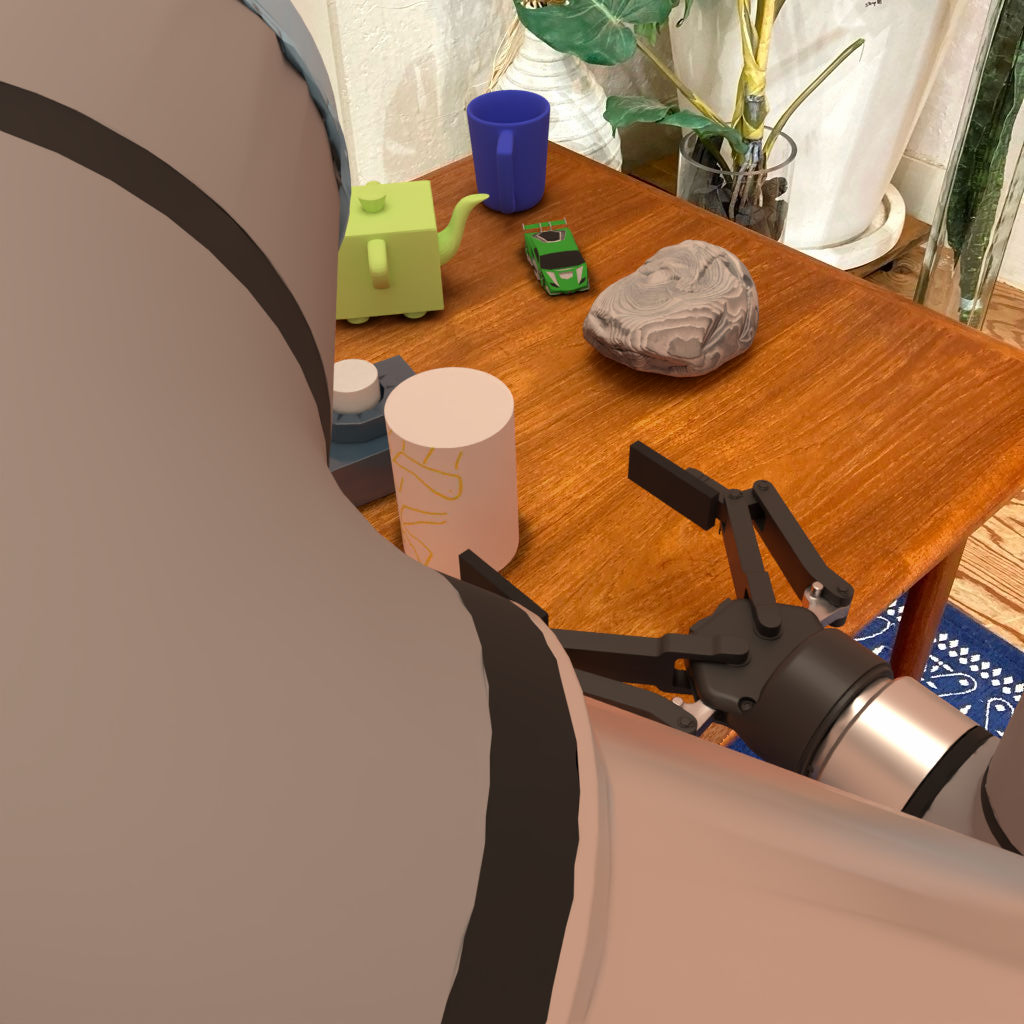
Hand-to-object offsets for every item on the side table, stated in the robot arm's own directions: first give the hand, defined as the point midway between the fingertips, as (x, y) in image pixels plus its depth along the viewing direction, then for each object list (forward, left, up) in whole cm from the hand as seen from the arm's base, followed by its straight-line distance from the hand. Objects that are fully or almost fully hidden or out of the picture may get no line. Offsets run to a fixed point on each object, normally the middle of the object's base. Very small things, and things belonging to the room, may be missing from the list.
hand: (552, 510), depth 64 cm
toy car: (+23, +36, -10) cm, 44 cm away
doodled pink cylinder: (-2, +9, -10) cm, 14 cm away
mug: (+25, +48, -10) cm, 55 cm away
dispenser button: (-4, +21, -4) cm, 22 cm away
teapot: (+7, +40, -10) cm, 42 cm away
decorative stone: (+24, +20, -10) cm, 33 cm away
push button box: (-4, +21, -10) cm, 24 cm away
